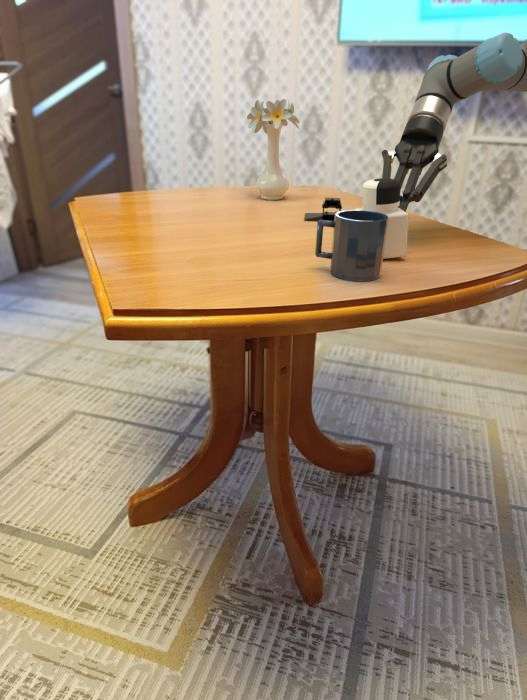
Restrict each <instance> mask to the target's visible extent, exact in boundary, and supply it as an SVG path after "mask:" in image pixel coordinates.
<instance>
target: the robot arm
mask: <svg viewBox="0 0 527 700" xmlns="http://www.w3.org/2000/svg"><path fill="white" fill-rule="evenodd" d="M486 90H488V91H490V90H491V91H511V92H513V91H514V92H522V93H523V92H527V38H526V39H525V40H524V41H523V42H521V43H520V41H519V40H518V39H517V38H516V37H514V34H513V33H511V32H510V33H509V32H501V33H499V34H498V35H495V36H493V37H490V38H488V39H486V40H484V41H482V42H481V43H480V44H478V45H476V46H475V47H473V48H471V49H469V50H468V51H466V52H464V53H463V54H461V55H459V56H456V55H453V54H447V55H439V56H437V57H435V58H434V59H433V60H432V61H431V62H430V63H429V65H428V68H427V70H426V72H425V73H424V76H423V77H422V81H421V84H420V87H419V90H418V92H417V94H416V97H415V101H414V103H413V106H412V109H411V111H410V113H409V116H408V118H407V121H406V124H405V127H404V129H403V132H402V135H401V137H400V141H399V142H398V143H397V144H396V145H395V146H394V149H391V150H389V151H388V150H387V149H383V150H382V151H381V157H382V158H381V159H382V162H383V165H382V175H381V178H389V179H392V177H391V176H392V164H393V163H394V161H395V157H396V159H397V161H398V168H397V170H396V173H395V175H394V178H393V179H395V180H397V181H399V182H400V184H401V189H400V191H402V192H401V193H402V195H400V205H399V206H398V208H400V209H401V210H403V211H405V212H406V213H407V209H408V207H409V205H410V203H412V202H414V203H419V202H421V201H422V199H423V197H424V196H425V195H426V193H427V192H428V191H429V188H430V187H431V185H432V184H433V183H434V181H435V179H436V178H437V176H438V175H439V174H440V173H441V172H442V171H443V170H445V169H446V168H447V166H448V157H447V154H445V153H444V154H441V153H440V152H439V148H440V145H441V142H442V140H443V136H444V133H445V130H446V128H447V125H448V122H449V119H450V117H451V114H452V111H453V109H454V106H455V104H457V103H458V102H460V101H462V100H463V101H464V100H465V99H467V98H470V97H472V96H474V95H476V94H478V93H480V92H482V91H486ZM428 165H430V166H429V167H428V169H427V170H426V172H425V173H424V174H423V176H422V177H421V179H420V176H421V175H422V173H423V169H424V168H425V167H427V166H428ZM409 171H410V173H409ZM408 174H409V175H408ZM407 175H408V178H407V181H406V183H405V180H406V176H407ZM419 179H420V180H419ZM418 181H419V182H418ZM404 183H405V186H404V189H403V190H402V188H403V185H404Z"/></svg>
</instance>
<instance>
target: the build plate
mask: <svg viewBox="0 0 527 700" xmlns="http://www.w3.org/2000/svg"><path fill="white" fill-rule="evenodd" d="M321 208H322V212H305V213H304V221H305V222H318V221H319V220H327V221H334V219H335V213H337V212H340V211H342V209H343V206H342V202H341V198H340V197H327V196H326V197H324V201H323V202H322V204H321ZM325 209H336V210H338V211H327V210H325Z"/></svg>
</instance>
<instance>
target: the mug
mask: <svg viewBox="0 0 527 700" xmlns="http://www.w3.org/2000/svg"><path fill="white" fill-rule="evenodd" d="M336 212H337V213H335V219H334V221H327V220H319V221H317V223H316V237H315V252H314V253H315V254H314V255H315V257H316V258H321V259H328V260H330V266H329V267H330V271H329V272H330V274H331V275H332V276H333V277H335V278H337V279H340V280H343V281H348V282H349V281H350V282H358V283H359V282H372V281H375V280H378V279H380V277H381V275H382V269H383V263H384V259H383V256H384V248H385V241H386V233H387V226H388V218H389V217H388V216H387V215H385V214H382V213H378V212H373V211H365V210H354V209H347V210H341V211H340V212H339V211H336ZM324 227H326V228H333V231H332V241H331V242H332V243H331V245H332V246H331V252H330V251H329V252H327V251H322V248H323V238H324V237H323V236H324Z"/></svg>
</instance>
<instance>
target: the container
mask: <svg viewBox="0 0 527 700" xmlns="http://www.w3.org/2000/svg"><path fill="white" fill-rule="evenodd" d="M400 189H401V190H402V188H401V184H400V182H399V181H397V180H395V179H394V178H391V179H389V178H382V177H381V178H373V179H369V180H366V181H365V182H363V184H362V185H361V207H357V208H354V209H353V210H365V211H373V212H378V213H382V214H385V215H387V216H388V217H389V218H388V226H387V233H386V241H385V248H384V256H383V260H385V259H395V258H403V257H406V256H407V250H408V233H409V218H410V217H409V216H410V215H409V213H408V212H407V211H406V212H405V211H403V210H401V209H400V208H398V206H399V205H400V196H401V190H400Z"/></svg>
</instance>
